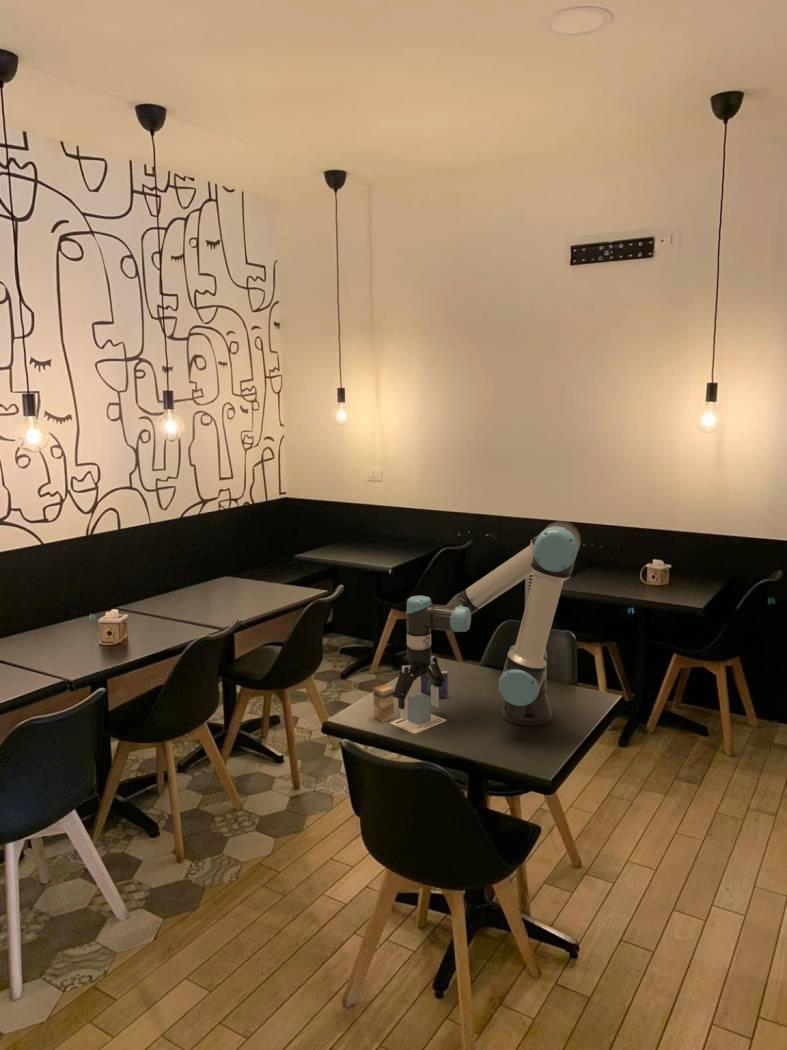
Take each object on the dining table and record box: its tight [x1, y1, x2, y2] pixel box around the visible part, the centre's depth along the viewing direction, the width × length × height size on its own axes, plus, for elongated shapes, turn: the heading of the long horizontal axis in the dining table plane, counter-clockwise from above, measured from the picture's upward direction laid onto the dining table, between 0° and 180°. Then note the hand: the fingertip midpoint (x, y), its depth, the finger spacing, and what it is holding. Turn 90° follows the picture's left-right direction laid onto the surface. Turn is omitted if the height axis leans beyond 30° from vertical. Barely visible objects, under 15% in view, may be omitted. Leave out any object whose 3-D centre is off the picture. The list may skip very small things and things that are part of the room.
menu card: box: [389, 713, 448, 735], centre depth 246 cm, size 11×14×1 cm
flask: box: [420, 669, 449, 700], centre depth 266 cm, size 9×3×11 cm, turn 87°
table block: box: [372, 684, 395, 723], centre depth 249 cm, size 4×4×10 cm
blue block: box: [407, 691, 432, 725], centre depth 246 cm, size 5×5×8 cm
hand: (419, 712), depth 246 cm, fingers open, 13 cm apart
